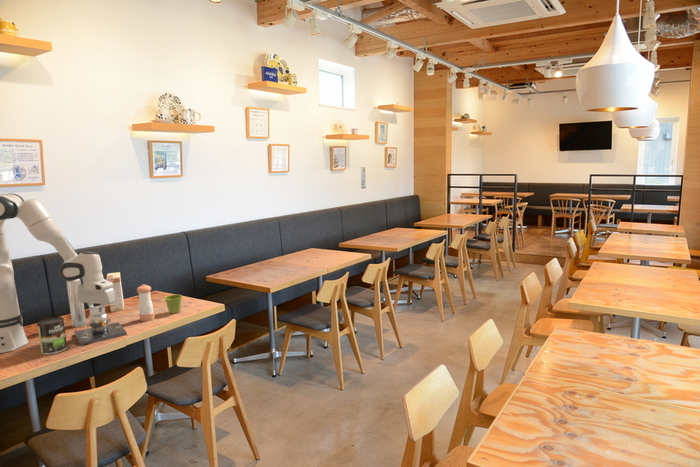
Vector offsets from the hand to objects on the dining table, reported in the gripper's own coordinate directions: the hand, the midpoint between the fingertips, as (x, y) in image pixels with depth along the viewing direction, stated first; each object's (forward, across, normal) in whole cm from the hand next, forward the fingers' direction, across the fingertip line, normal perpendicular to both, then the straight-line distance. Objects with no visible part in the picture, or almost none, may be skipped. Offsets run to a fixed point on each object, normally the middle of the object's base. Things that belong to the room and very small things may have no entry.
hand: (98, 311), depth 233 cm
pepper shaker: (+12, +7, +24) cm, 28 cm away
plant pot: (+12, +14, +37) cm, 42 cm away
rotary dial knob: (+6, +2, -2) cm, 7 cm away
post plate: (+12, 0, 0) cm, 12 cm away
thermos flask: (+12, -23, +8) cm, 27 cm away
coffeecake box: (+12, -27, +38) cm, 48 cm away
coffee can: (+12, -5, -21) cm, 25 cm away
